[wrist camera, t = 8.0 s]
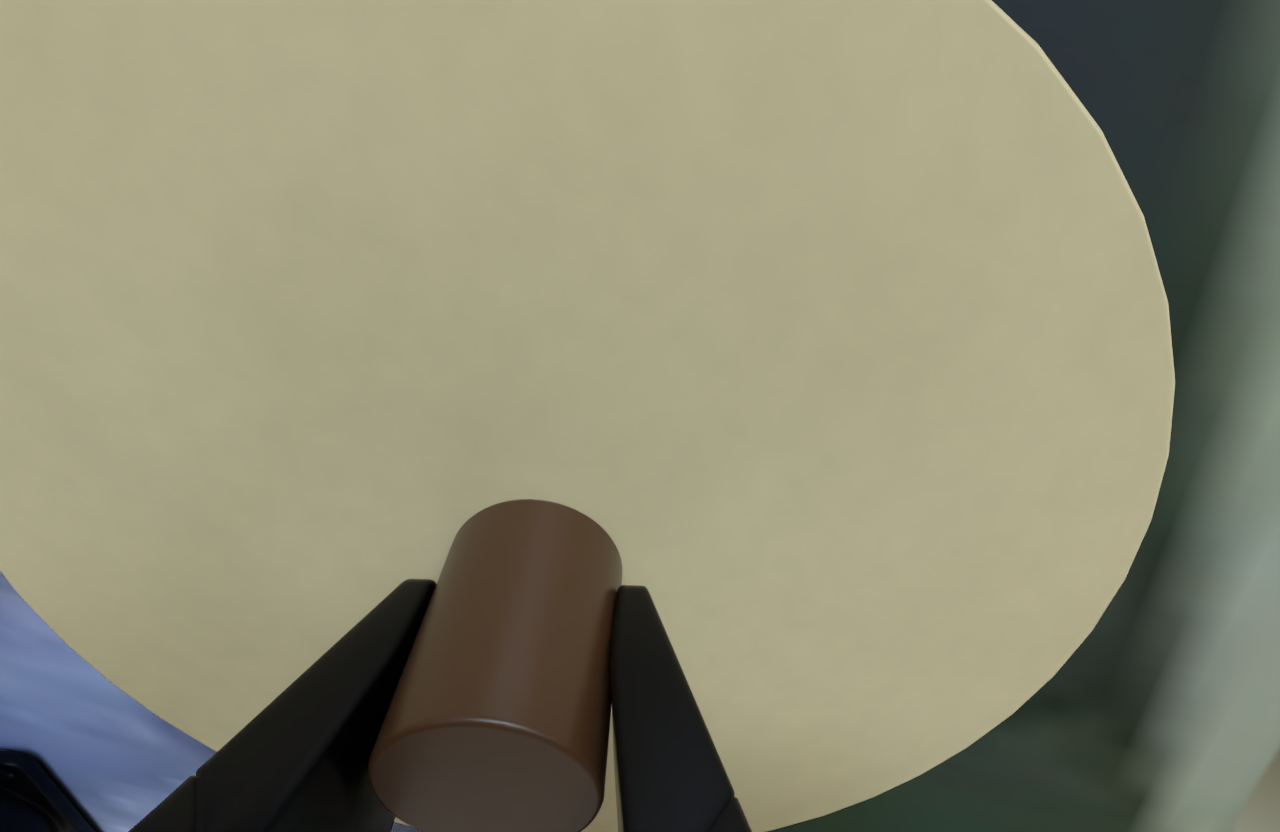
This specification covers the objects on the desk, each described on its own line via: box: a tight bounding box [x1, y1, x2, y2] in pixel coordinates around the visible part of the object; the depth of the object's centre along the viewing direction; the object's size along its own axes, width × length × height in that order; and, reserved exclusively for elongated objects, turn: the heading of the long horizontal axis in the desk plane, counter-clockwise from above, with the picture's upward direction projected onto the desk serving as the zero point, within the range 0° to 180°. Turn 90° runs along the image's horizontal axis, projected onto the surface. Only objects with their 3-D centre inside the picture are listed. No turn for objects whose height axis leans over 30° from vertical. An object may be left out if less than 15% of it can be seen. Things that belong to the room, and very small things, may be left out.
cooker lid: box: [0, 0, 1175, 832], centre depth 9 cm, size 18×18×5 cm
